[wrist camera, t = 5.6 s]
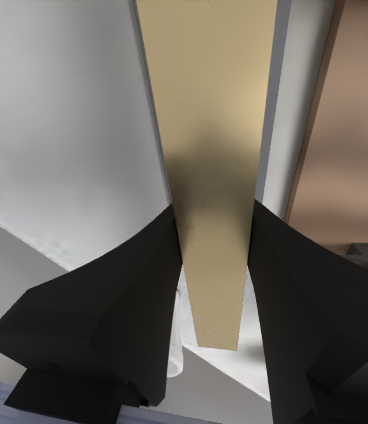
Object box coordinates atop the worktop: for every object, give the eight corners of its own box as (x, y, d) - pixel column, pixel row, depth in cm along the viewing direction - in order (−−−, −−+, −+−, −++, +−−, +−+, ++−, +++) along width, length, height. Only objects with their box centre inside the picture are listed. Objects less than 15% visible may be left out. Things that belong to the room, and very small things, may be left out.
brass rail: (233, 311, 16) (237, 350, 13) (200, 308, 16) (197, 346, 14) (267, -202, 4) (357, -697, 1) (142, -150, 4) (55, -448, 2)
